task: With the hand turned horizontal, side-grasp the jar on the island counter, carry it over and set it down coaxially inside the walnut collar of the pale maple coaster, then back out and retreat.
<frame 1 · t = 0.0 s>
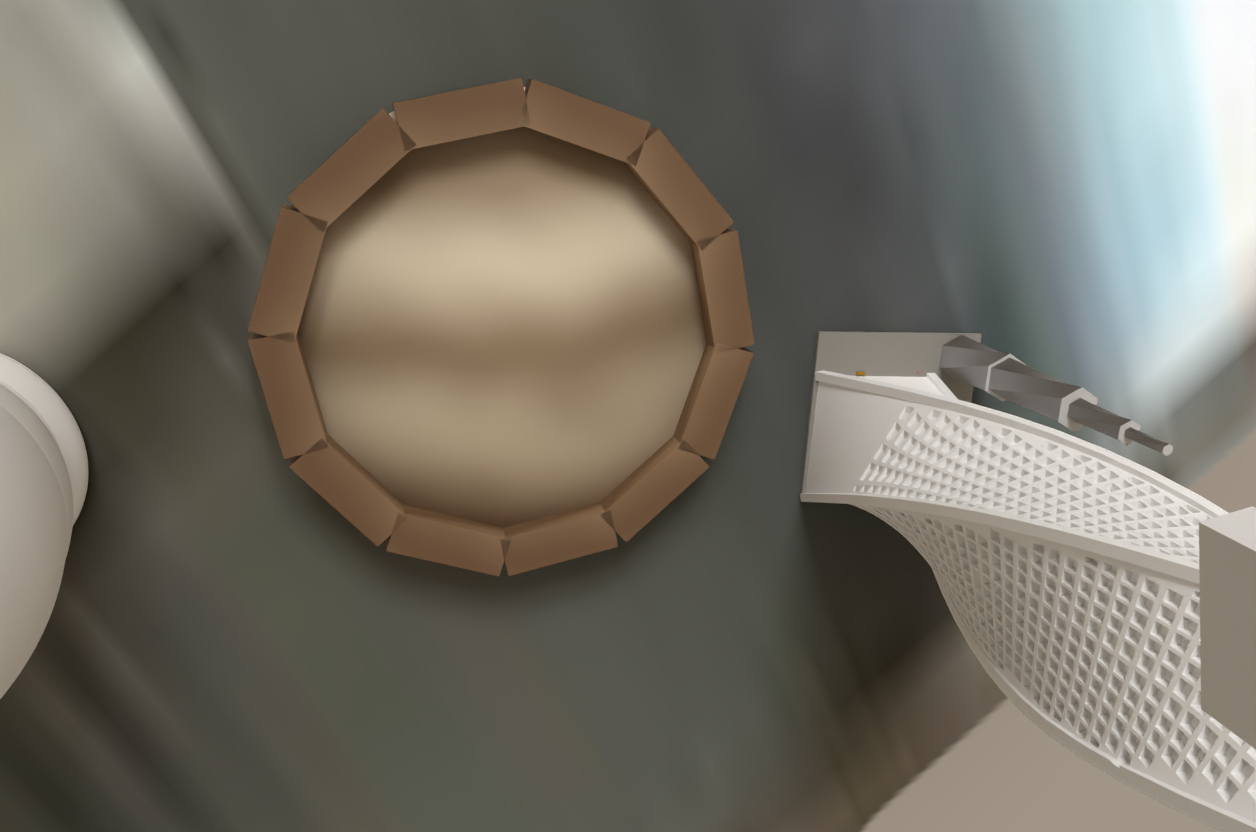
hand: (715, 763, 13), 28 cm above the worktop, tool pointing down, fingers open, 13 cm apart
skyscraper: (869, 430, 44), on the worktop
coaster: (507, 331, 39), on the worktop
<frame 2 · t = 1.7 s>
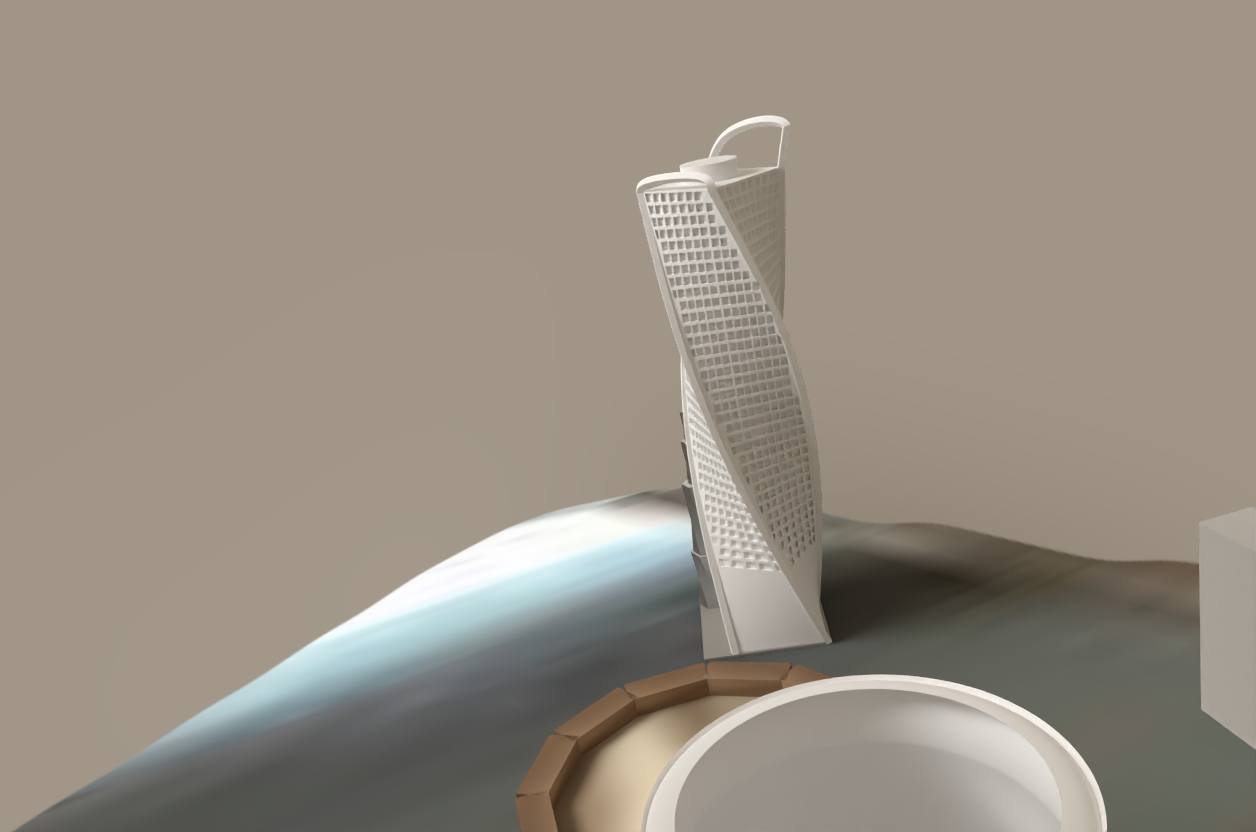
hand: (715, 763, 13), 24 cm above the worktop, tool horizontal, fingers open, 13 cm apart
skyscraper: (777, 630, 61), on the worktop
coaster: (718, 810, 48), on the worktop
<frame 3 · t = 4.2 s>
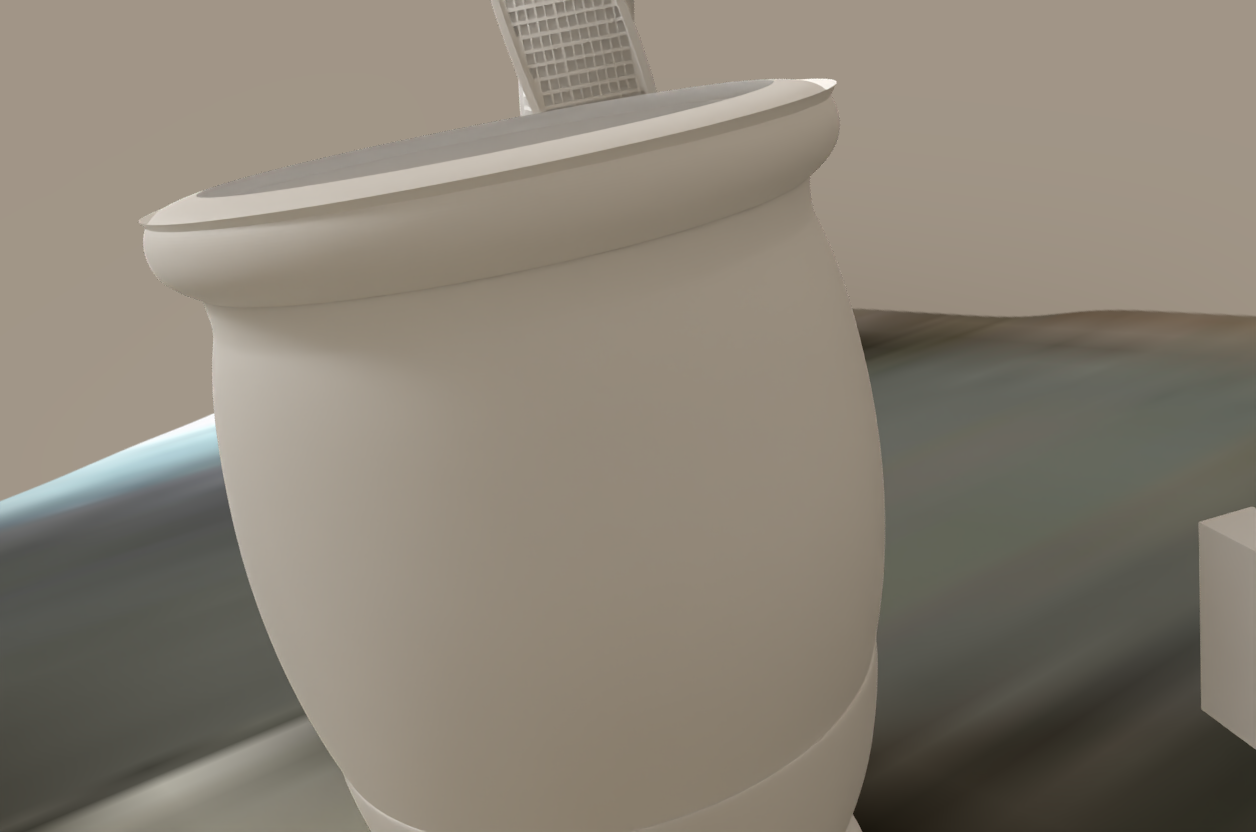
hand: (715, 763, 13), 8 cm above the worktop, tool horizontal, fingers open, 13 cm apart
skyscraper: (641, 401, 53), on the worktop
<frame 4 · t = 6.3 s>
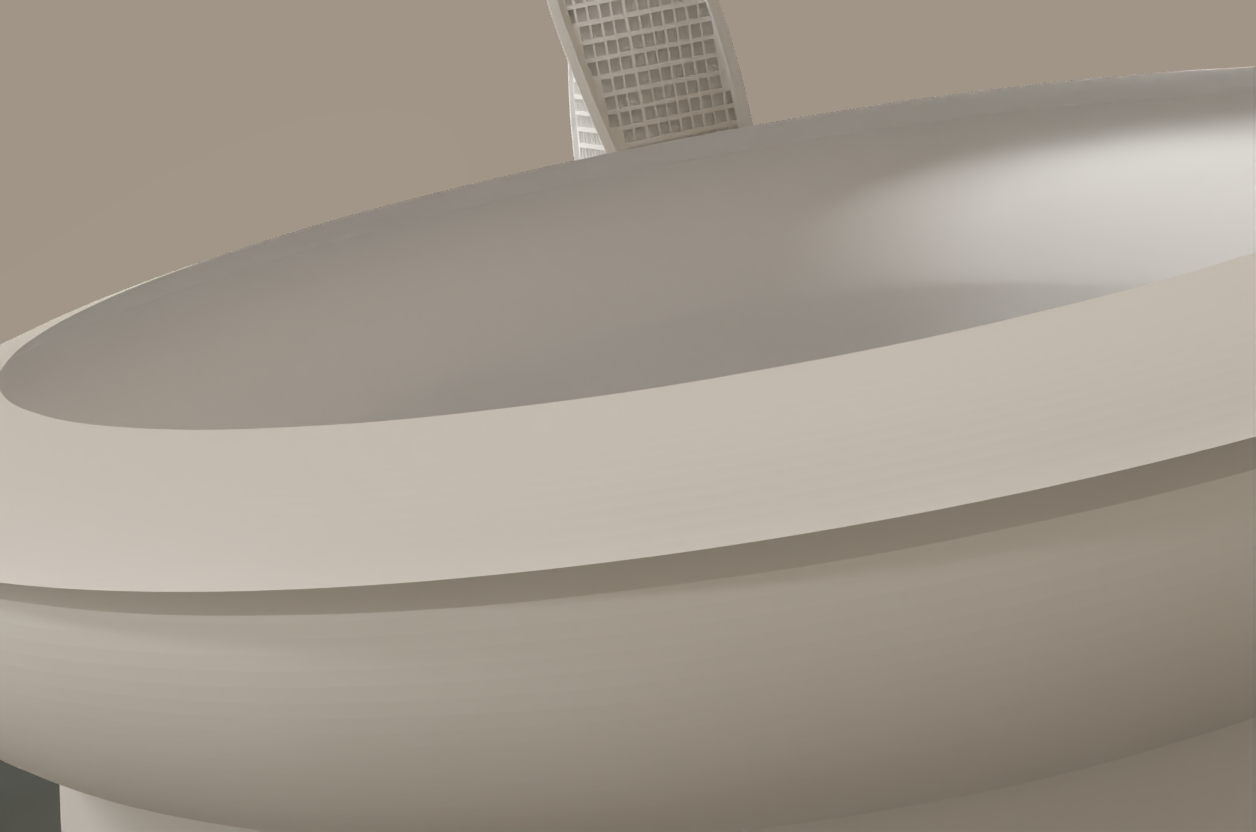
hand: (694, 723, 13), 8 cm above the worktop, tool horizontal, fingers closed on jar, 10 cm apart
skyscraper: (713, 467, 44), on the worktop
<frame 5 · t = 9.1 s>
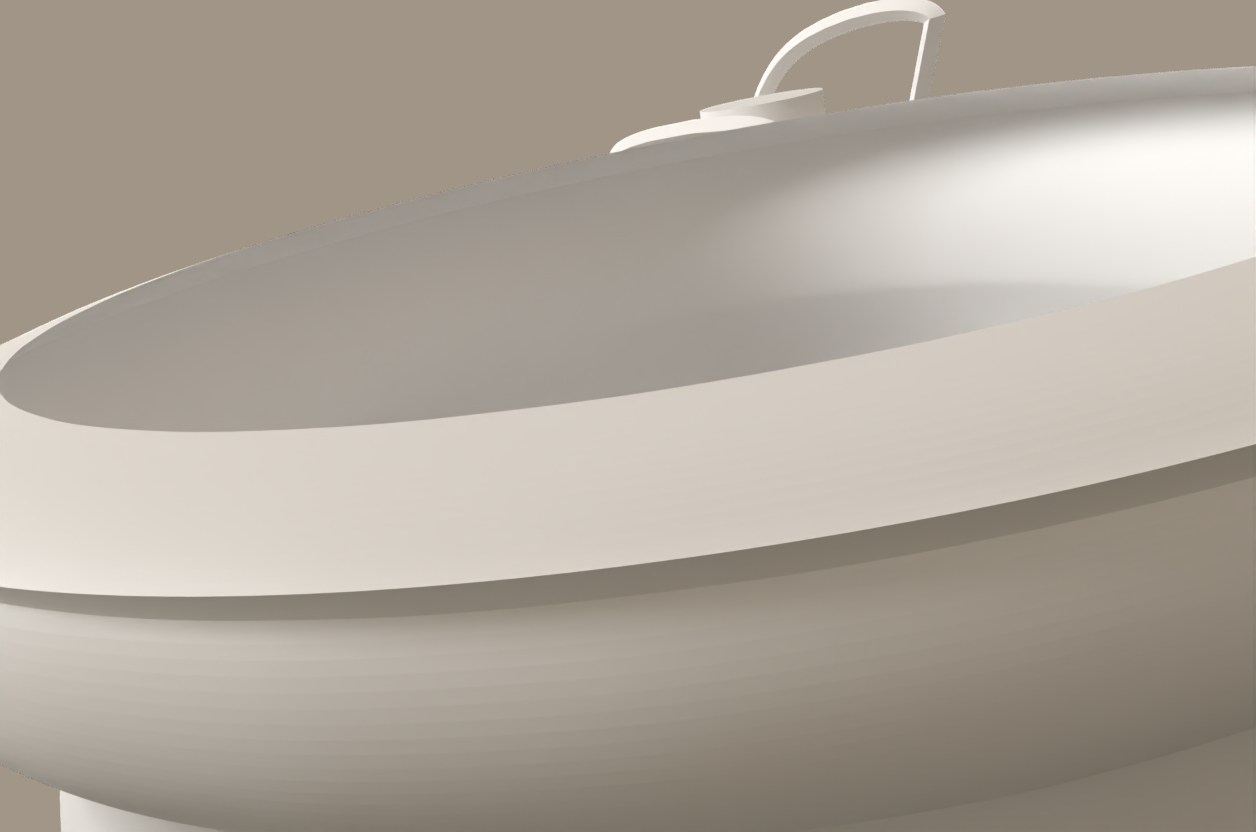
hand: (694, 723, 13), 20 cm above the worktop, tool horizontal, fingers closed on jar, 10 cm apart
when the fingers open (10 cm above the worktop, at t = 12.3 s): jar drops 1 cm, resting on coaster.
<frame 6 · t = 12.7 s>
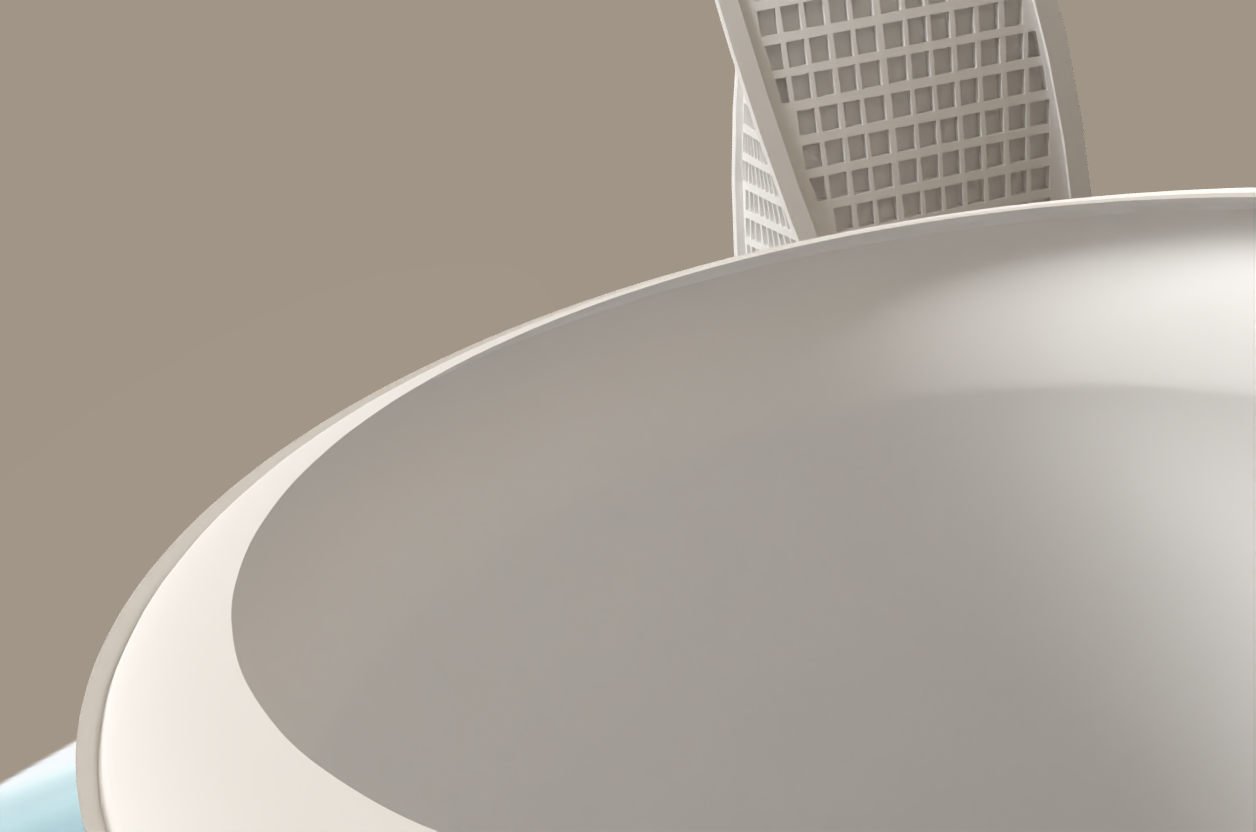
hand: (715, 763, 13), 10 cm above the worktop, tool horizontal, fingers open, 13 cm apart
skyscraper: (949, 804, 27), on the worktop
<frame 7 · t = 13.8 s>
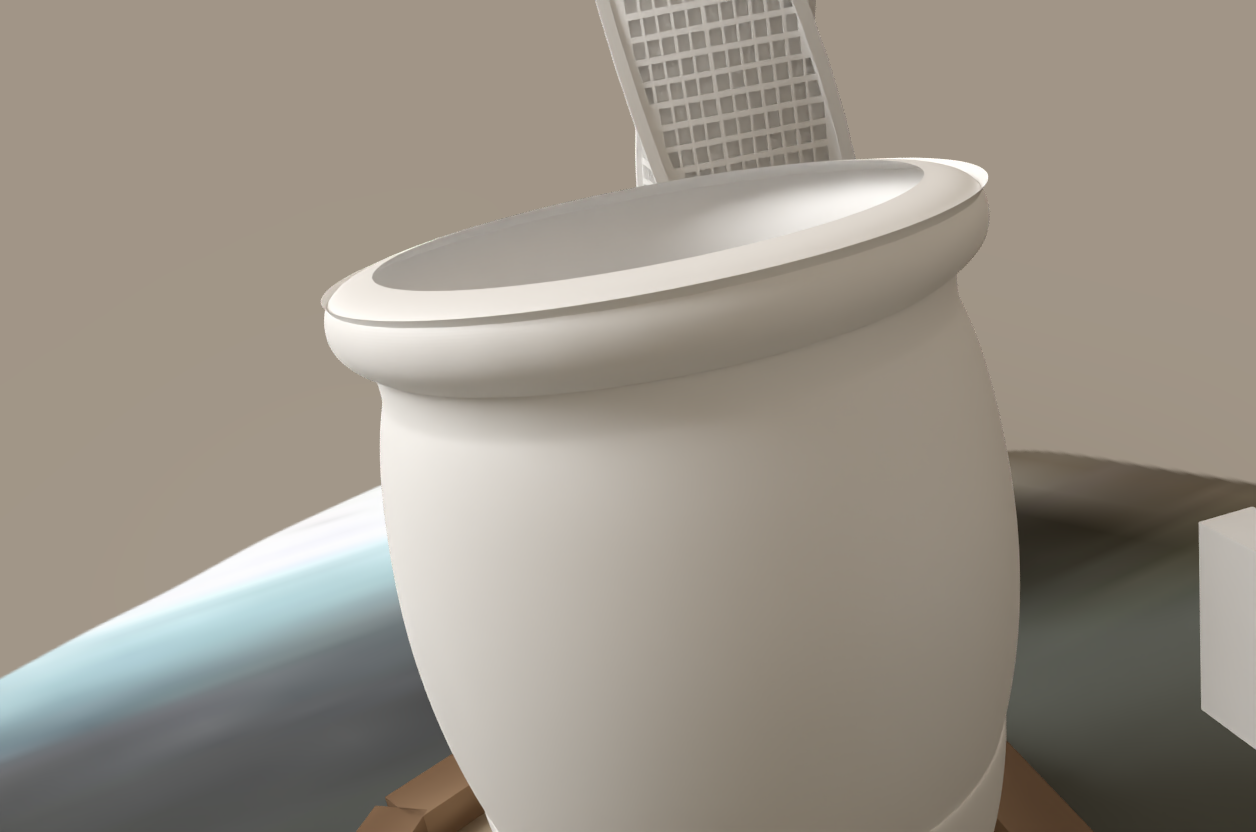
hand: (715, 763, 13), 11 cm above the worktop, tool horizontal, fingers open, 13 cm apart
skyscraper: (801, 614, 37), on the worktop
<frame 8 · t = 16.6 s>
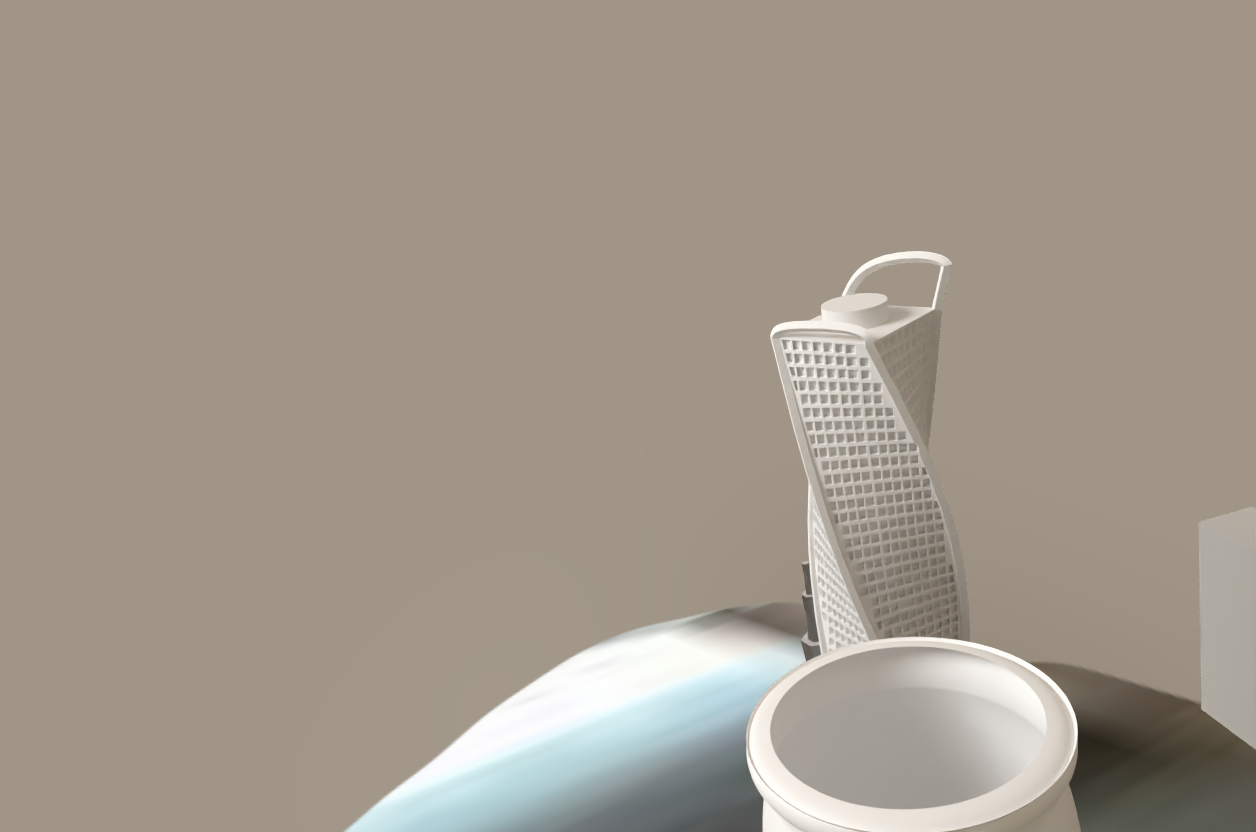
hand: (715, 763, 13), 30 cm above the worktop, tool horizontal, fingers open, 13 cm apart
skyscraper: (910, 805, 55), on the worktop
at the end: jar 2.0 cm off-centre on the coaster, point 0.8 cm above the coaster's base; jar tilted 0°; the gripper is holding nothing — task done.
